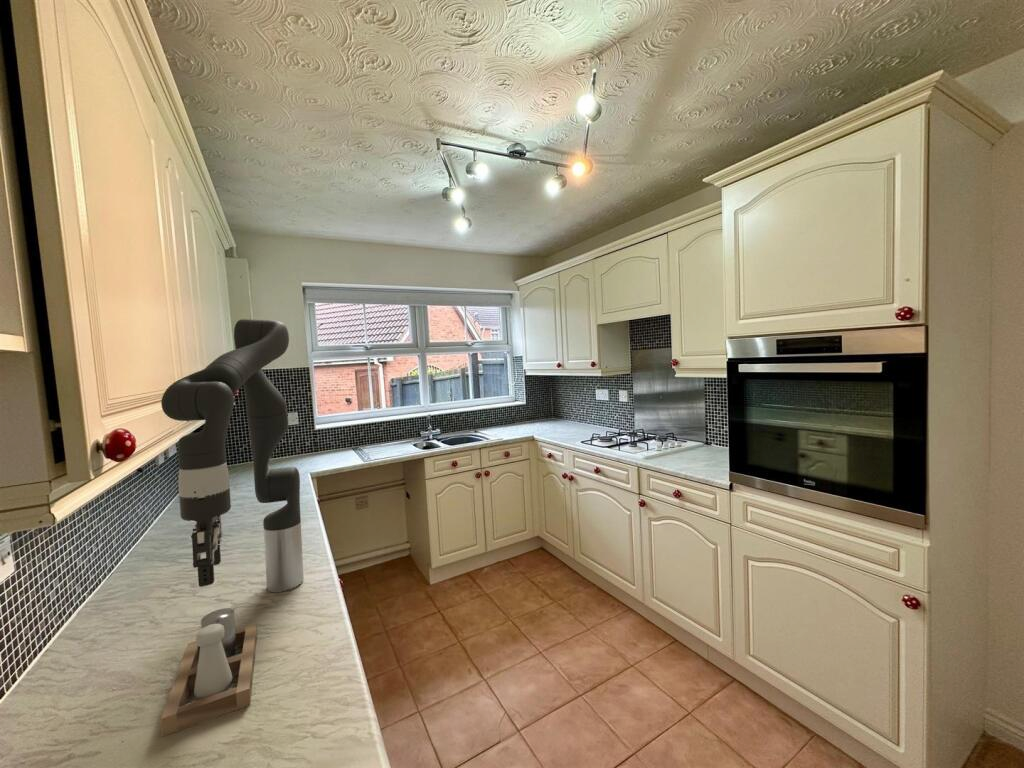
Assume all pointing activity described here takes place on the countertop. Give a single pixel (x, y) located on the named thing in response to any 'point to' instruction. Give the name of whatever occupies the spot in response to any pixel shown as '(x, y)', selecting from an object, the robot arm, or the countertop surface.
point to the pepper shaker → (228, 621)
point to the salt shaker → (211, 663)
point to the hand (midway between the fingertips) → (210, 574)
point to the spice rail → (215, 705)
